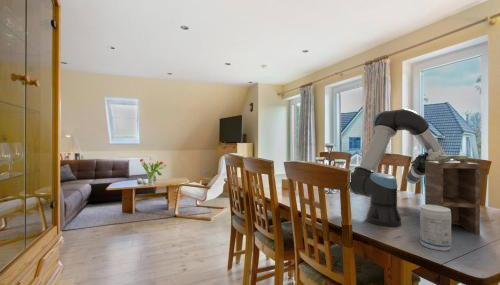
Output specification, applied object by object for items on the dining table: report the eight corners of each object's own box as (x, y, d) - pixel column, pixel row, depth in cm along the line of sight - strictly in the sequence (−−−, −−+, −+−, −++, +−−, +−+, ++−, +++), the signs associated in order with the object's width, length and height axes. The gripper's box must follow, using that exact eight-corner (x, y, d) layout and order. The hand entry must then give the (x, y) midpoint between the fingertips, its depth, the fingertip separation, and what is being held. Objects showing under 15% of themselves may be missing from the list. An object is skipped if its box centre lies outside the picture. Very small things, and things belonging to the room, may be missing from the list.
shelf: (439, 231, 109) (438, 155, 109) (425, 221, 123) (425, 154, 123) (479, 234, 105) (479, 156, 105) (460, 223, 119) (460, 154, 119)
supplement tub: (422, 239, 101) (422, 203, 101) (452, 245, 94) (452, 207, 94) (417, 246, 94) (417, 207, 94) (450, 254, 87) (449, 212, 87)
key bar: (443, 161, 116) (443, 152, 116) (426, 159, 133) (426, 152, 133) (453, 161, 115) (452, 152, 115) (435, 159, 132) (435, 152, 132)
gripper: (438, 175, 142) (458, 157, 122) (405, 174, 146) (419, 157, 126) (435, 163, 146) (454, 144, 126) (402, 163, 150) (416, 144, 130)
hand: (436, 150), depth 126 cm, fingers closed on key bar, 4 cm apart
